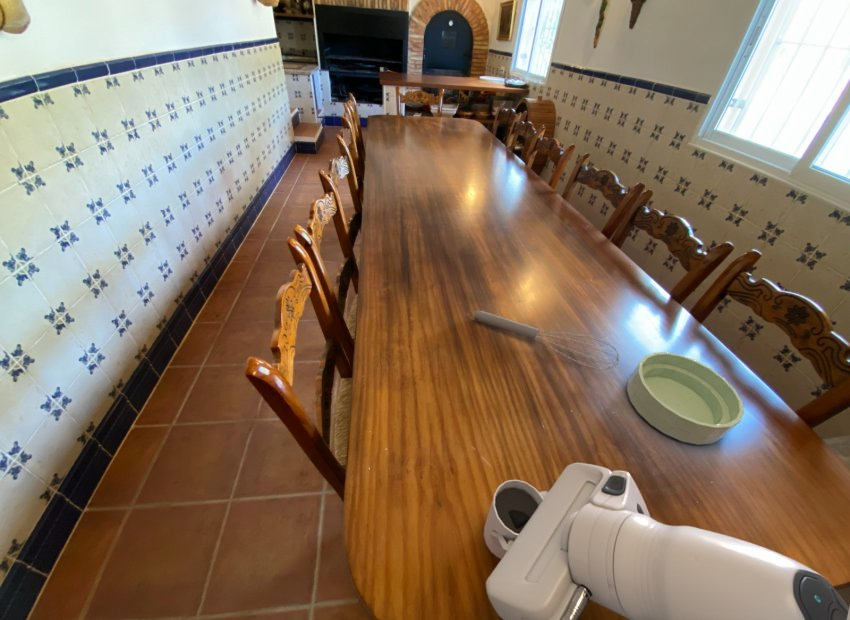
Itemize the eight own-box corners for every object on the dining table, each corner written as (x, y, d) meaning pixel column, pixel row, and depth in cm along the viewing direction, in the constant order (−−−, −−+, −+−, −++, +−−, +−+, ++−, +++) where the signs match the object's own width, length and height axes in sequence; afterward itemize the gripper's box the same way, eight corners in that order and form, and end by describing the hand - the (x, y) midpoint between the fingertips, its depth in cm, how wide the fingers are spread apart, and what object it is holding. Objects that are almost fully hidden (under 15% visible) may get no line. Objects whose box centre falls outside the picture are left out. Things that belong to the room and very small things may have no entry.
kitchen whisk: (471, 309, 89) (475, 288, 85) (613, 363, 78) (625, 342, 74) (461, 323, 85) (465, 302, 81) (610, 382, 74) (623, 361, 70)
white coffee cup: (537, 552, 49) (559, 524, 43) (495, 572, 47) (511, 546, 40) (511, 504, 54) (527, 472, 47) (472, 520, 52) (483, 489, 45)
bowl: (719, 394, 73) (737, 375, 69) (727, 463, 61) (750, 445, 57) (629, 360, 79) (642, 340, 75) (621, 417, 67) (635, 398, 63)
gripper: (575, 685, 30) (469, 607, 41) (654, 506, 42) (555, 484, 53) (543, 624, 30) (444, 562, 41) (633, 461, 41) (537, 448, 53)
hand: (508, 517), depth 47 cm, fingers closed on white coffee cup, 4 cm apart
